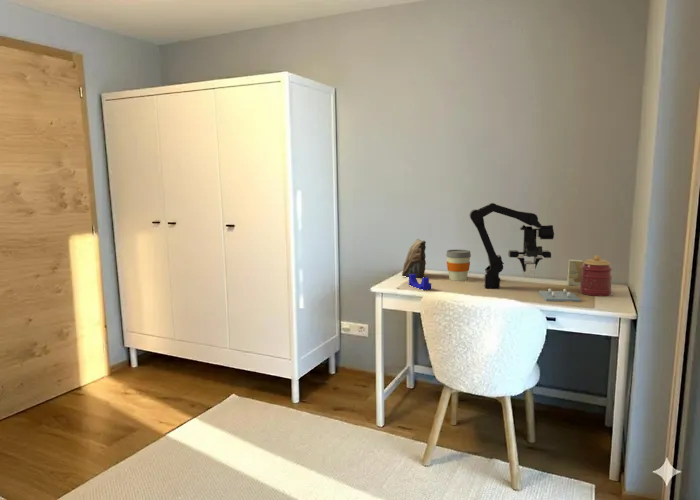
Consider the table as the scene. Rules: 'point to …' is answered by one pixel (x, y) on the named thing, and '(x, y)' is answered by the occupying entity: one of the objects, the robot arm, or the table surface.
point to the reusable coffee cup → (458, 264)
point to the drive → (529, 269)
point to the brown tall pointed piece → (415, 260)
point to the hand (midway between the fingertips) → (528, 271)
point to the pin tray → (559, 295)
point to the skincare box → (574, 272)
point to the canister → (596, 277)
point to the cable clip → (414, 283)
